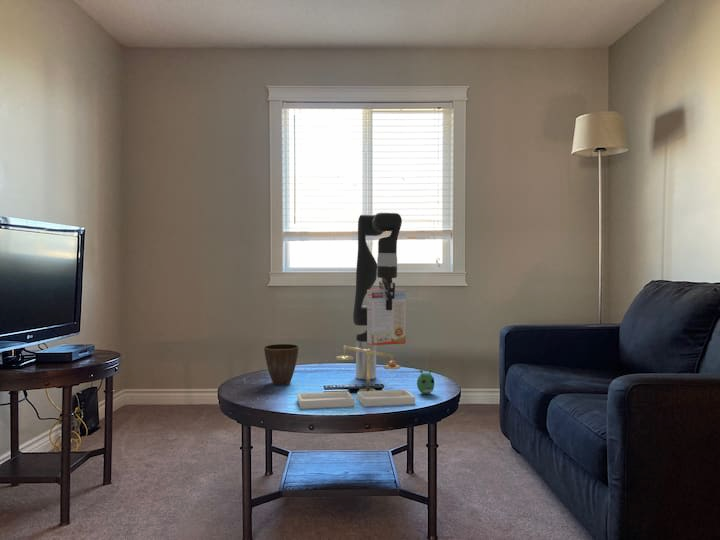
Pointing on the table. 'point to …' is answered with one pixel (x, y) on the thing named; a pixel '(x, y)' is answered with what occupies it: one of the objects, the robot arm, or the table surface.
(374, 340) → the cracker box
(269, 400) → the table surface
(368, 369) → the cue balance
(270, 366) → the plant pot
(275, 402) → the table surface
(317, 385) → the table surface
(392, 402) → the dish
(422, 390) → the alien toy
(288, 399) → the table surface
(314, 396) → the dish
